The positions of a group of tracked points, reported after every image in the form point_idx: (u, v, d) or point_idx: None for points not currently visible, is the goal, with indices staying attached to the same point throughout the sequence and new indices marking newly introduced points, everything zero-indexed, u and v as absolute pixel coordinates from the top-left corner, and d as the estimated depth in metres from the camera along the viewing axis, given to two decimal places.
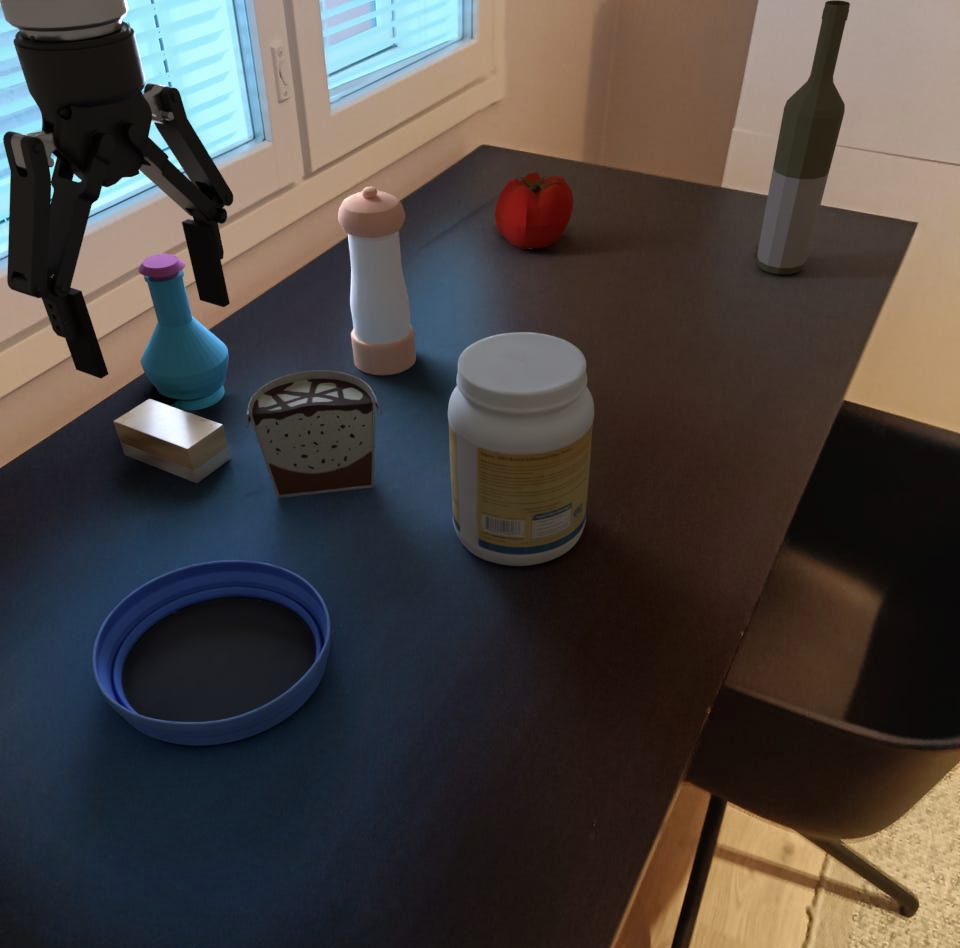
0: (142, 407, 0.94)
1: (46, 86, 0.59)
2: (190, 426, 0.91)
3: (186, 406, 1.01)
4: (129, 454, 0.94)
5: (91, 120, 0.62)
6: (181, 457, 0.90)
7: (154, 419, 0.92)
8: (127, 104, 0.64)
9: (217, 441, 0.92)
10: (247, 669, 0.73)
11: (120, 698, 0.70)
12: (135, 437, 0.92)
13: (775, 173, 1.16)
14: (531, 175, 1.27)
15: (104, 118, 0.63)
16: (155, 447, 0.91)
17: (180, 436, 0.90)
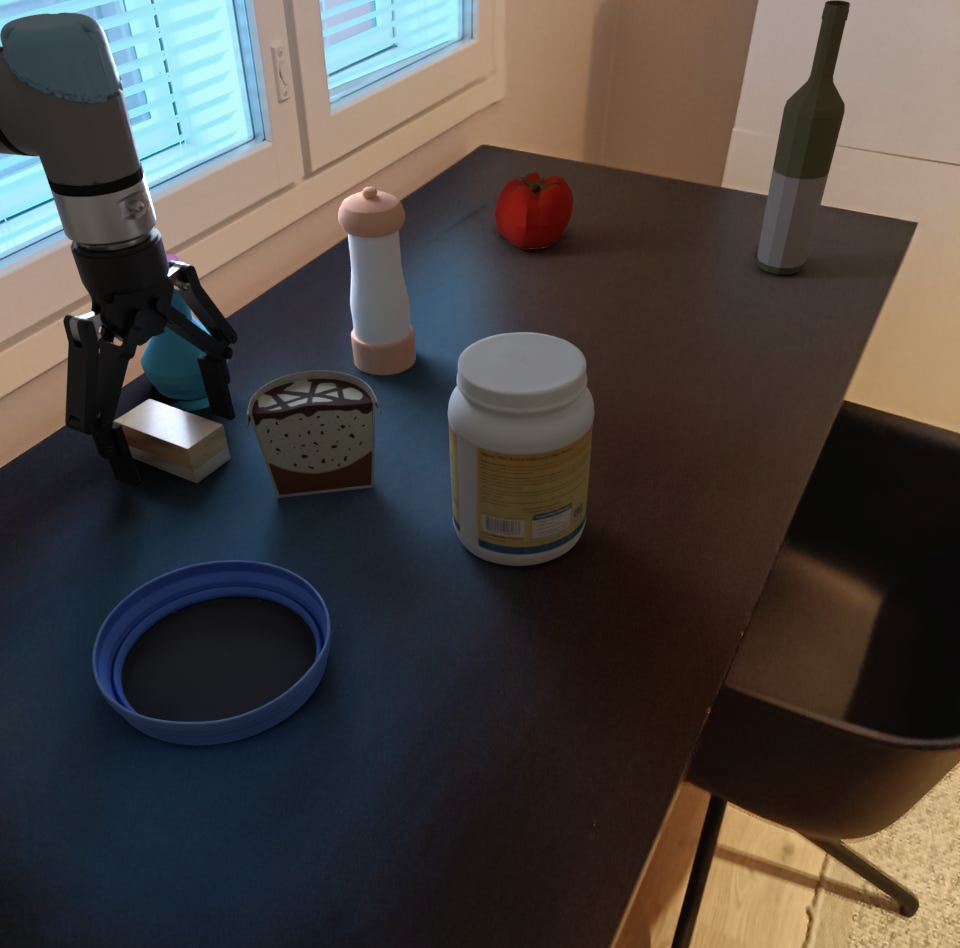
0: (142, 407, 0.94)
1: (95, 281, 0.78)
2: (190, 426, 0.91)
3: (186, 406, 1.01)
4: None
5: (128, 300, 0.81)
6: (181, 457, 0.90)
7: (154, 419, 0.92)
8: None
9: (217, 441, 0.92)
10: (247, 669, 0.73)
11: (120, 698, 0.70)
12: (135, 437, 0.92)
13: (775, 173, 1.16)
14: (531, 175, 1.27)
15: (138, 297, 0.82)
16: (155, 447, 0.91)
17: (180, 436, 0.90)
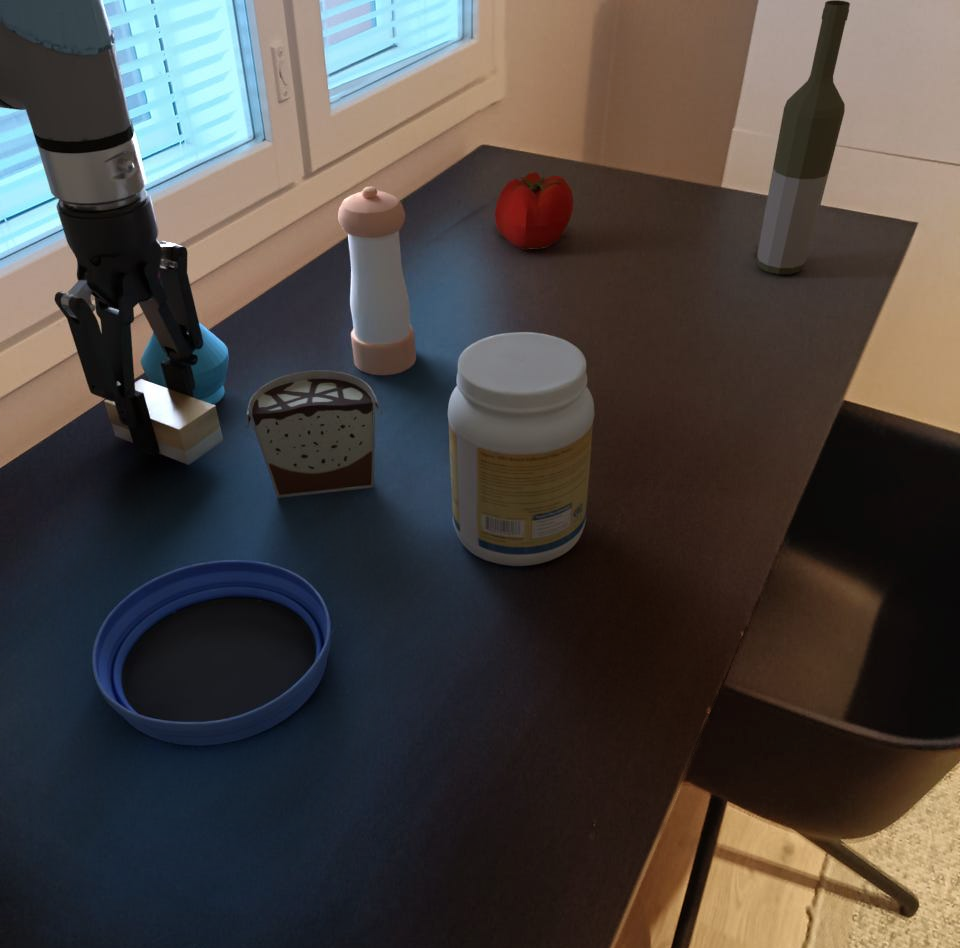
0: None
1: (82, 242, 0.76)
2: (182, 406, 0.90)
3: None
4: (120, 435, 0.93)
5: (109, 258, 0.78)
6: (172, 438, 0.88)
7: None
8: None
9: (209, 422, 0.90)
10: (247, 669, 0.73)
11: (120, 698, 0.70)
12: None
13: (775, 173, 1.16)
14: (531, 175, 1.27)
15: (125, 260, 0.80)
16: None
17: (172, 417, 0.89)
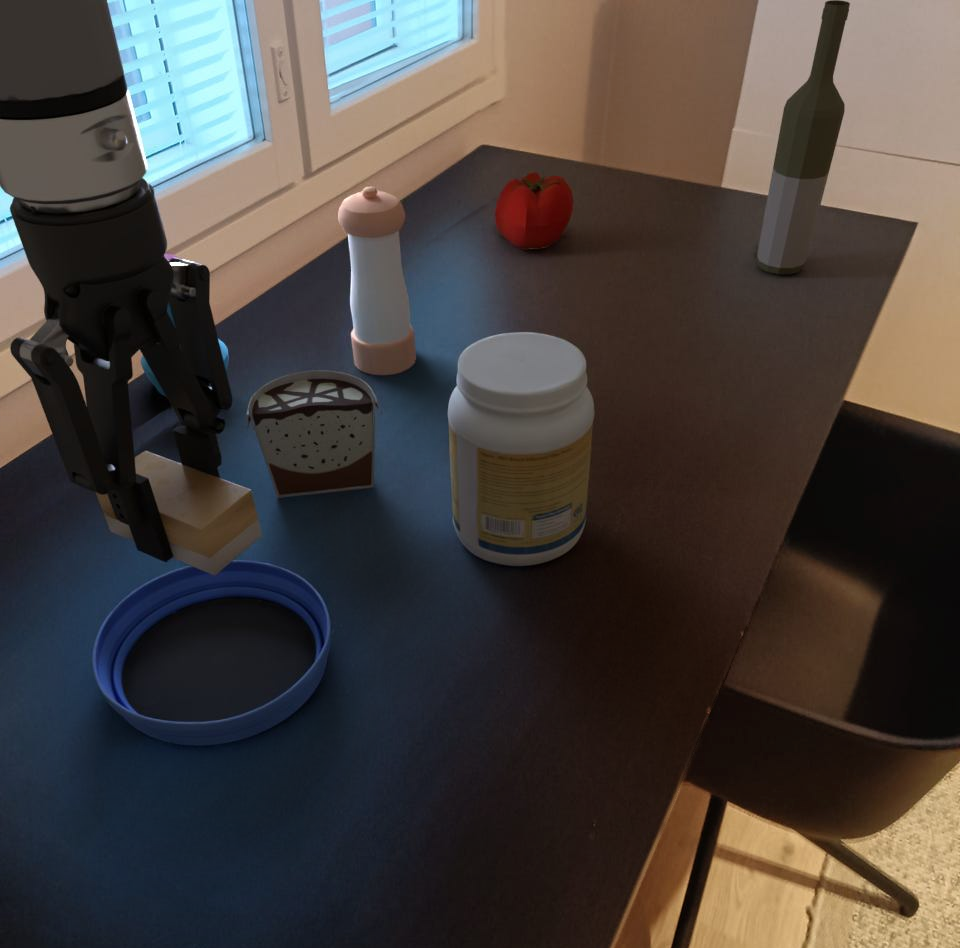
0: None
1: (49, 263, 0.49)
2: (204, 492, 0.63)
3: None
4: (117, 531, 0.66)
5: (93, 285, 0.51)
6: (191, 540, 0.61)
7: (152, 483, 0.64)
8: None
9: (243, 514, 0.63)
10: (247, 669, 0.73)
11: (120, 698, 0.70)
12: None
13: (775, 173, 1.16)
14: (531, 175, 1.27)
15: (118, 288, 0.53)
16: None
17: (191, 509, 0.62)
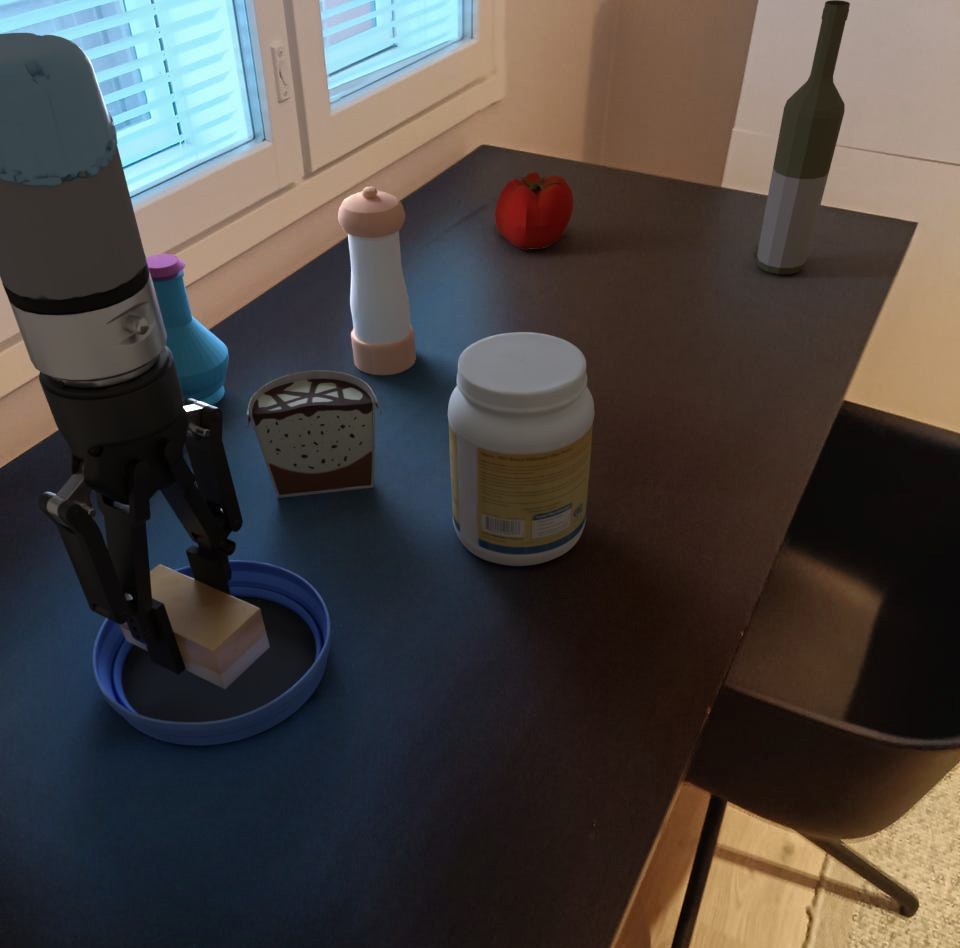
0: None
1: (76, 429, 0.53)
2: (215, 610, 0.67)
3: None
4: (132, 641, 0.70)
5: None
6: (204, 658, 0.65)
7: (166, 599, 0.68)
8: None
9: (252, 630, 0.67)
10: (247, 669, 0.73)
11: (120, 698, 0.70)
12: None
13: (775, 173, 1.16)
14: (531, 175, 1.27)
15: (138, 442, 0.56)
16: None
17: (203, 628, 0.65)
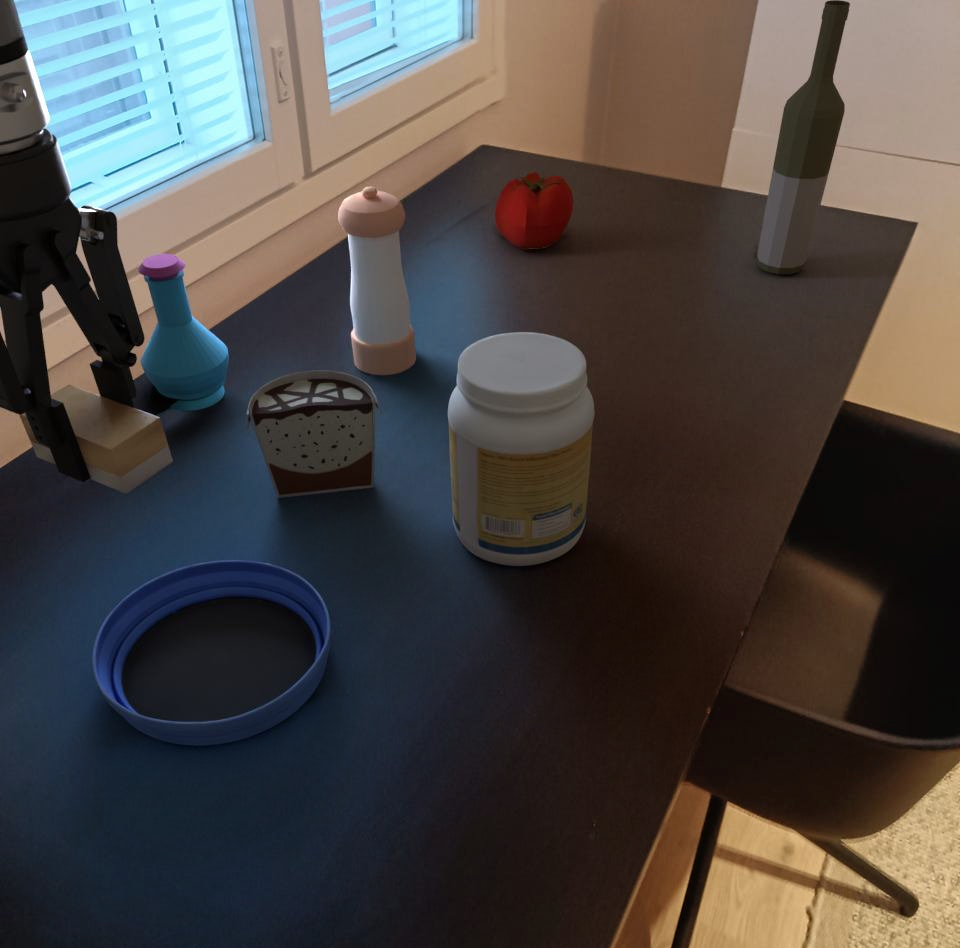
0: (58, 396, 0.73)
1: None
2: (117, 419, 0.70)
3: (186, 406, 1.01)
4: (42, 456, 0.73)
5: (3, 223, 0.58)
6: (104, 460, 0.69)
7: (71, 411, 0.71)
8: None
9: (153, 439, 0.70)
10: (247, 669, 0.73)
11: (120, 698, 0.70)
12: None
13: (775, 173, 1.16)
14: (531, 175, 1.27)
15: (28, 228, 0.60)
16: None
17: (103, 433, 0.69)
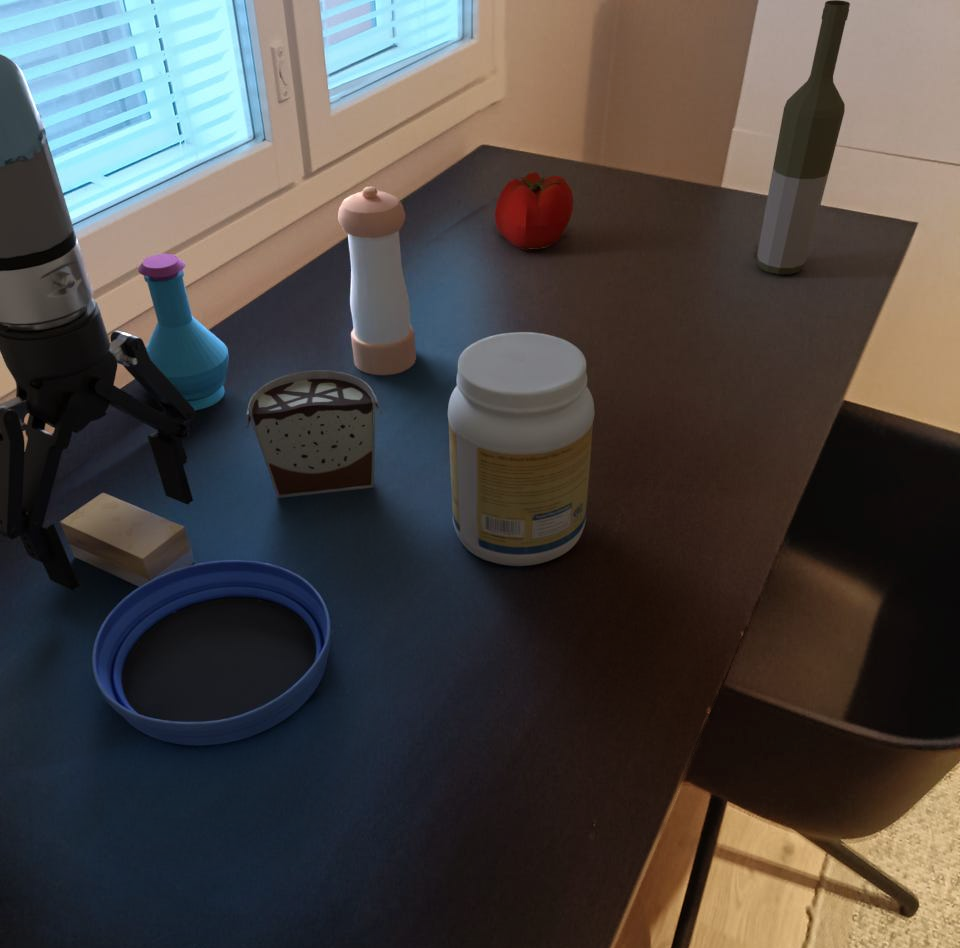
0: (93, 504, 0.82)
1: (19, 365, 0.66)
2: (147, 528, 0.80)
3: None
4: (79, 557, 0.83)
5: (61, 383, 0.69)
6: (136, 566, 0.78)
7: (106, 520, 0.81)
8: None
9: (178, 545, 0.80)
10: (247, 669, 0.73)
11: (120, 698, 0.70)
12: (85, 540, 0.80)
13: (775, 173, 1.16)
14: (531, 175, 1.27)
15: (73, 378, 0.70)
16: (107, 553, 0.80)
17: (135, 542, 0.79)
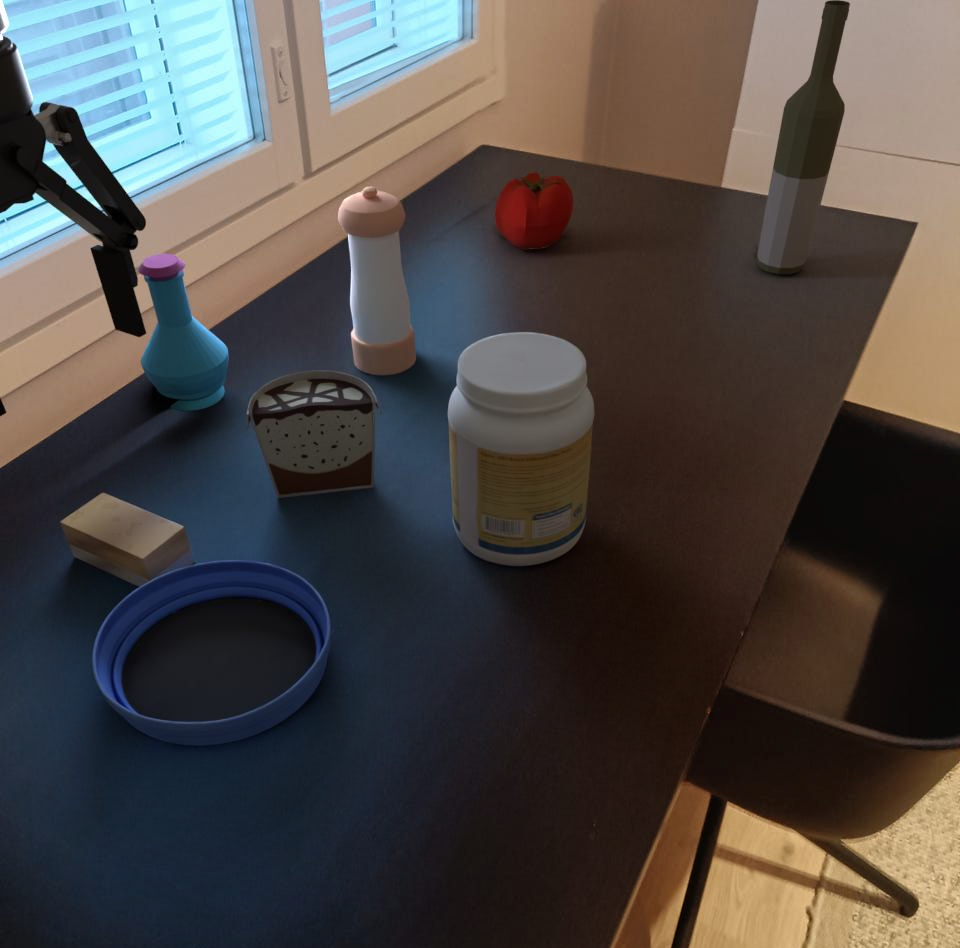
0: (93, 504, 0.82)
1: None
2: (147, 528, 0.80)
3: (186, 406, 1.01)
4: (79, 556, 0.83)
5: None
6: (136, 566, 0.78)
7: (106, 520, 0.81)
8: (15, 126, 0.59)
9: (178, 545, 0.80)
10: (247, 669, 0.73)
11: (120, 698, 0.70)
12: (85, 540, 0.80)
13: (775, 173, 1.16)
14: (531, 175, 1.27)
15: None
16: (107, 553, 0.80)
17: (135, 542, 0.79)
